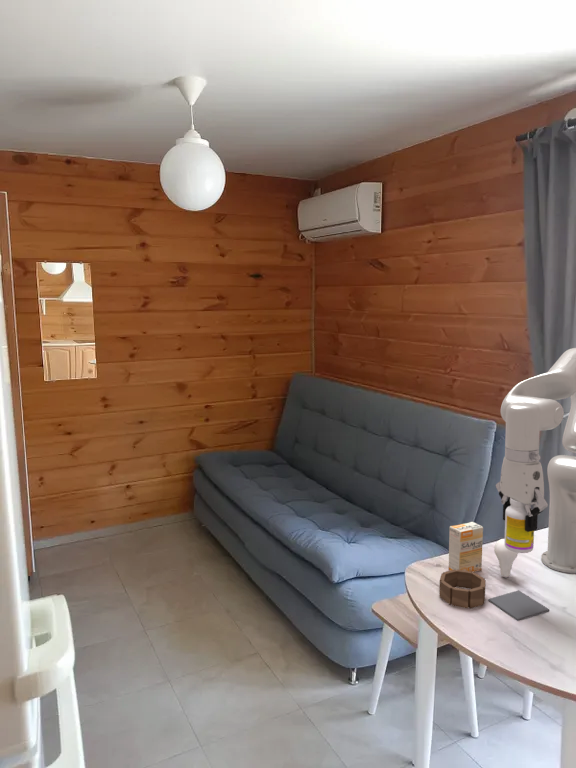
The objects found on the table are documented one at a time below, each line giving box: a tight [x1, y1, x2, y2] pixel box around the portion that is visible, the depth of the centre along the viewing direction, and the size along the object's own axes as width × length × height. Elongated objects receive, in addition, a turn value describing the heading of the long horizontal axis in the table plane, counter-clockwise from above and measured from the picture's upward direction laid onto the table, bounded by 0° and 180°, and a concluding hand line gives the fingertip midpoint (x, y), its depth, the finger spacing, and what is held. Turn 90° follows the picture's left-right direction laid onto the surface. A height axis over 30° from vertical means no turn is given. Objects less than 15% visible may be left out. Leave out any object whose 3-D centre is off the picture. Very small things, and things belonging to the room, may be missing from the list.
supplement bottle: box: [504, 498, 535, 554], centre depth 141 cm, size 7×7×13 cm
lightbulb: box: [493, 538, 519, 579], centre depth 157 cm, size 6×6×11 cm
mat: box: [488, 589, 550, 622], centre depth 144 cm, size 10×10×1 cm
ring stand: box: [438, 569, 487, 609], centre depth 149 cm, size 11×11×4 cm
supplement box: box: [448, 521, 484, 573], centre depth 162 cm, size 8×5×13 cm, turn 113°
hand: (519, 524), depth 141 cm, fingers closed on supplement bottle, 6 cm apart
